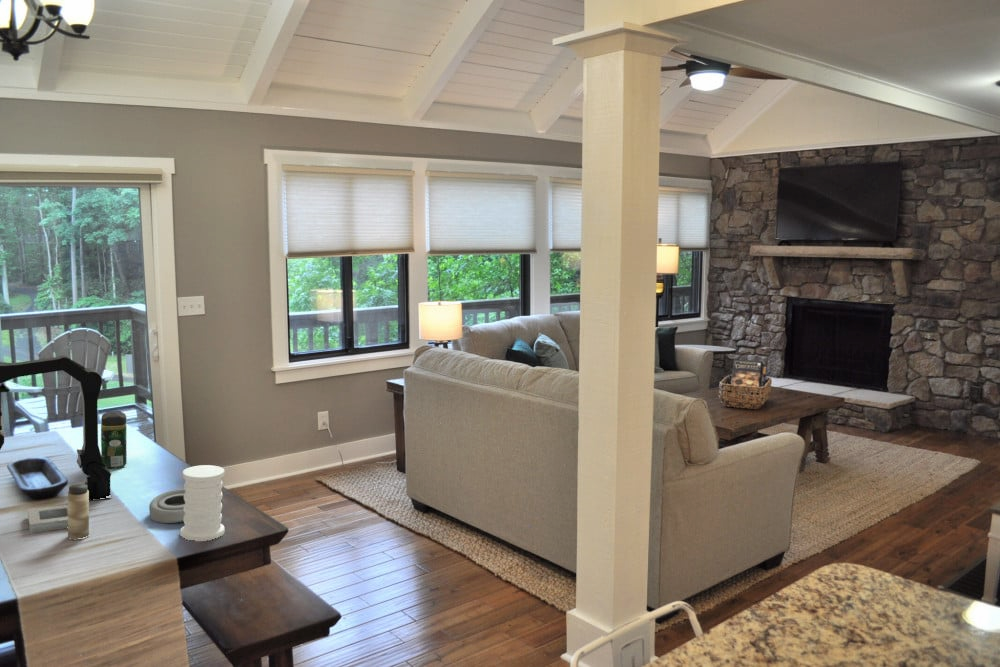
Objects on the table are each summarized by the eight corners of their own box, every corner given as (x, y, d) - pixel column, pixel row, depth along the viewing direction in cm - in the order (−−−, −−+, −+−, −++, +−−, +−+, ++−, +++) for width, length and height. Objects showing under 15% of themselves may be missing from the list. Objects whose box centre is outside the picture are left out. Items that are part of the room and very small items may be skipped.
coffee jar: (100, 461, 277) (101, 409, 274) (126, 459, 280) (126, 408, 278) (101, 470, 268) (101, 416, 265) (126, 468, 272) (127, 415, 269)
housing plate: (76, 512, 231) (76, 503, 231) (80, 526, 221) (80, 518, 221) (28, 517, 225) (27, 509, 224) (29, 533, 215) (29, 524, 214)
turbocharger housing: (138, 519, 232) (171, 533, 225) (137, 498, 231) (169, 511, 223) (188, 500, 246) (220, 512, 239) (187, 480, 245) (219, 492, 237)
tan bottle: (87, 531, 218) (87, 482, 216) (89, 538, 214) (89, 488, 212) (67, 534, 215) (66, 484, 214) (68, 541, 211) (68, 490, 209)
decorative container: (193, 544, 215) (194, 480, 212) (172, 531, 222) (173, 469, 220) (232, 534, 223) (233, 472, 221) (211, 522, 231) (212, 462, 228)
